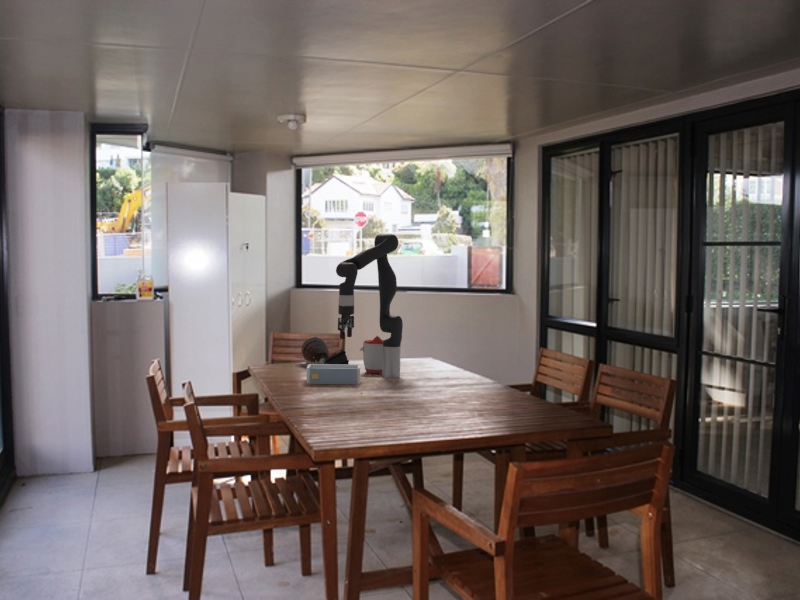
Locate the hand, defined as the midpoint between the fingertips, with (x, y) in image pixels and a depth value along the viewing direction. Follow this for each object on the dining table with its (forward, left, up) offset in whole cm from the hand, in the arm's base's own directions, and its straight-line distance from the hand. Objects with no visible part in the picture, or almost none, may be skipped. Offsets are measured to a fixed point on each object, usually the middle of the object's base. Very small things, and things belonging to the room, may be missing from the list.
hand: (345, 338), depth 354 cm
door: (-3, -6, -23) cm, 24 cm away
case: (-10, -6, -24) cm, 27 cm away
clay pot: (-65, -18, -25) cm, 72 cm away
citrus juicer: (-46, +15, -25) cm, 54 cm away
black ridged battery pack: (-27, -5, -25) cm, 37 cm away
